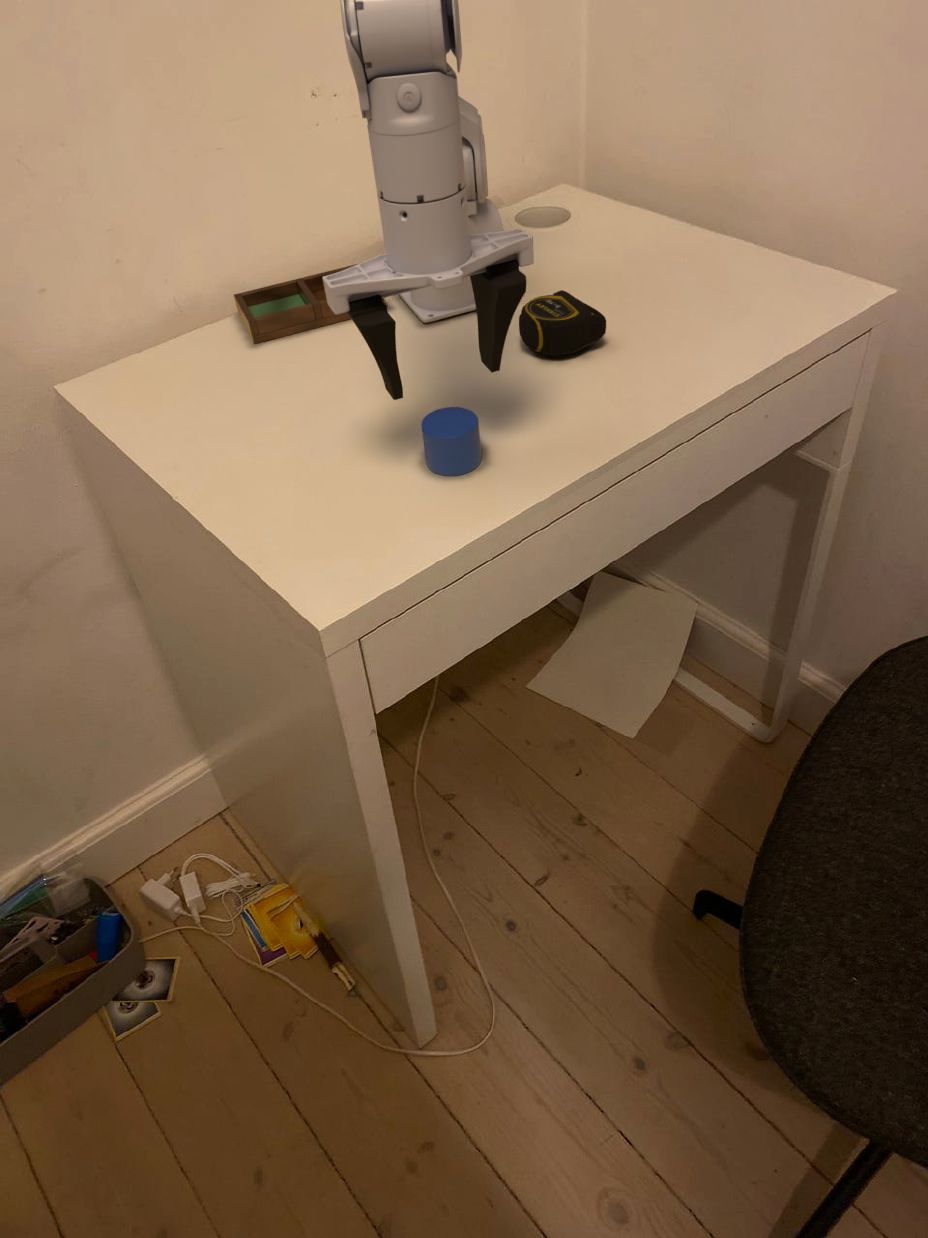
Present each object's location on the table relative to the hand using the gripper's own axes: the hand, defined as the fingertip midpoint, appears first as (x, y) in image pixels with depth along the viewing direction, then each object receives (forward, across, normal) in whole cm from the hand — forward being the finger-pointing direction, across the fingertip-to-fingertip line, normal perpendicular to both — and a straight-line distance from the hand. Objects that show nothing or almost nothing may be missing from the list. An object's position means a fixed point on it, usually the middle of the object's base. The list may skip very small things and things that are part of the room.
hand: (443, 379), depth 69 cm
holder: (+7, -3, +32) cm, 33 cm away
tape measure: (+7, +16, +13) cm, 22 cm away
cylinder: (+7, 0, 0) cm, 7 cm away
